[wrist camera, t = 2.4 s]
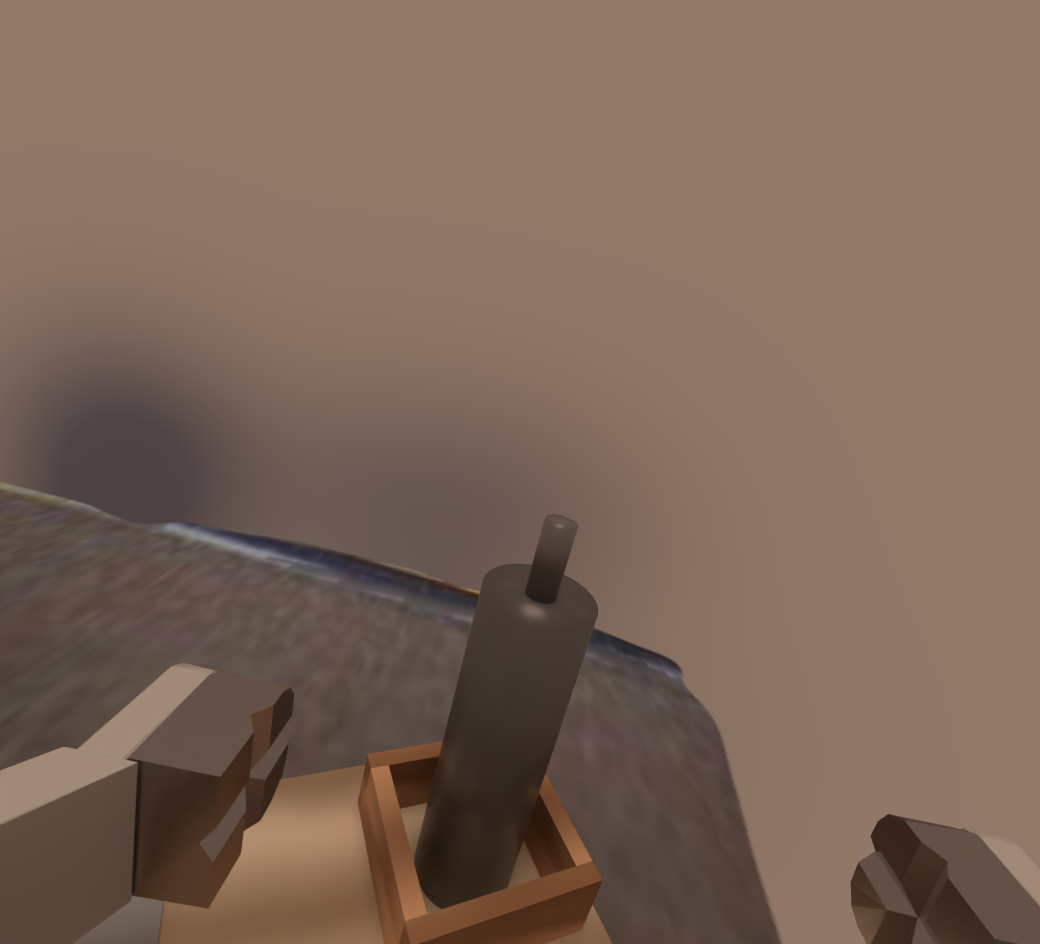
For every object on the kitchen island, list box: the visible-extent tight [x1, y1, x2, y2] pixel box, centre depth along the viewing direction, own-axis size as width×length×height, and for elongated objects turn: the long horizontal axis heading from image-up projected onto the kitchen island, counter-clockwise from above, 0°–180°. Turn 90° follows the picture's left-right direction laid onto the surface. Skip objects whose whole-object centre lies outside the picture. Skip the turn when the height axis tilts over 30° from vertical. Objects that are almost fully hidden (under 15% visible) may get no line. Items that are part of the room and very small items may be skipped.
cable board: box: [73, 741, 612, 944], centre depth 21 cm, size 11×26×4 cm, turn 114°
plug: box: [414, 514, 598, 909], centre depth 22 cm, size 4×4×17 cm
